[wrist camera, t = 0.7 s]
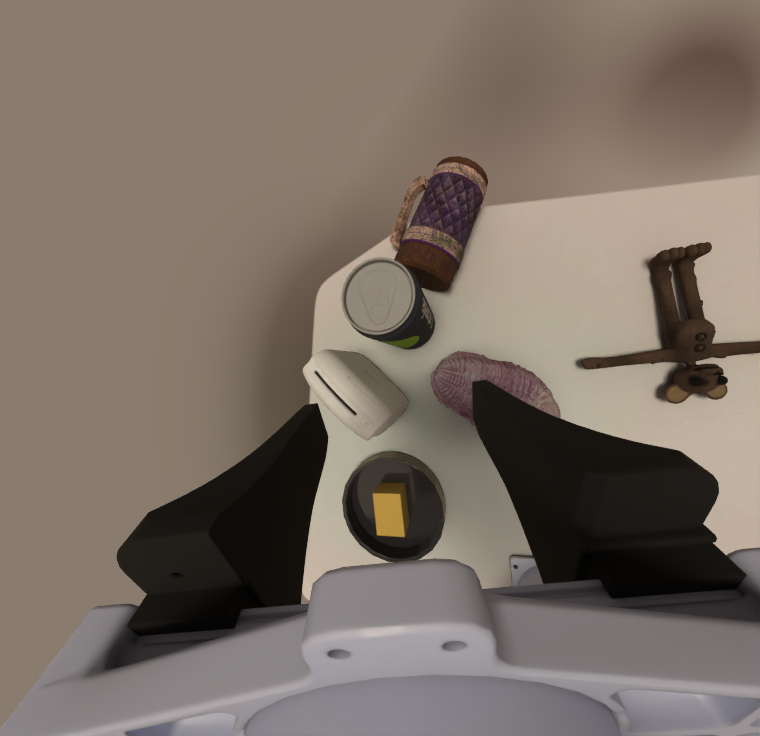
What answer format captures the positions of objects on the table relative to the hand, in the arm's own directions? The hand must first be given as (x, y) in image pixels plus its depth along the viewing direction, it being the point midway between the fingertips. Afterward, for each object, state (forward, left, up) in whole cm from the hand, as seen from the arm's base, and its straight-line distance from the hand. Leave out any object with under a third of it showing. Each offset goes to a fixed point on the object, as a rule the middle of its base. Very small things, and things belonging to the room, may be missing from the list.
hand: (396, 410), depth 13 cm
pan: (-15, +7, -22) cm, 27 cm away
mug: (+12, +1, -19) cm, 23 cm away
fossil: (-2, -6, -22) cm, 23 cm away
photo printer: (0, +8, -22) cm, 24 cm away
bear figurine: (+3, -24, -22) cm, 33 cm away
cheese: (-15, +7, -22) cm, 27 cm away
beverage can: (+8, +2, -22) cm, 23 cm away
